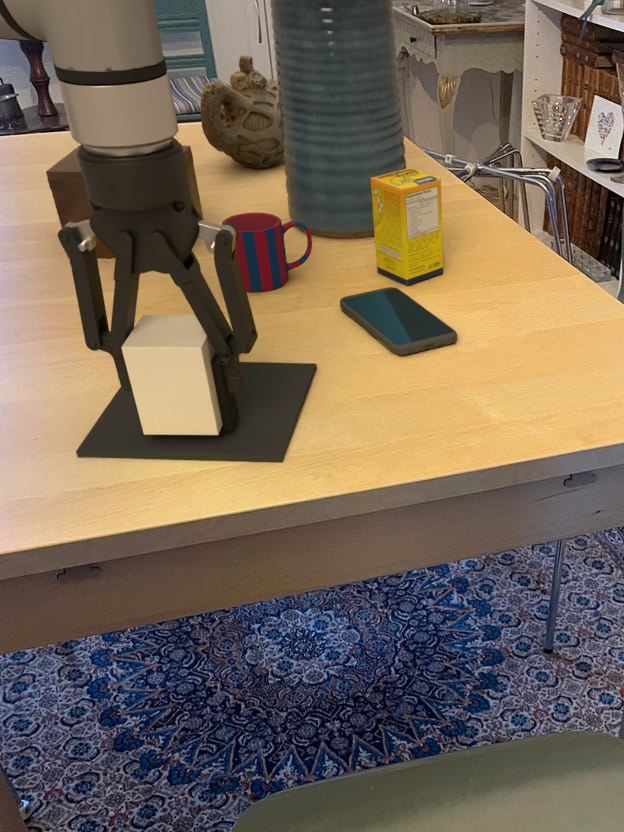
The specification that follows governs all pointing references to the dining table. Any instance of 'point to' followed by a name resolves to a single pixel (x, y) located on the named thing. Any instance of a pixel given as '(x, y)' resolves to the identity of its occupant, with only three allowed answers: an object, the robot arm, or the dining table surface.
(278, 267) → the mug
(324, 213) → the vase
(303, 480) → the dining table surface
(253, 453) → the rubber mat
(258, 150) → the teapot
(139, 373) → the upper box
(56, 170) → the brown rectangular block
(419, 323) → the smartphone
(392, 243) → the supplement box
